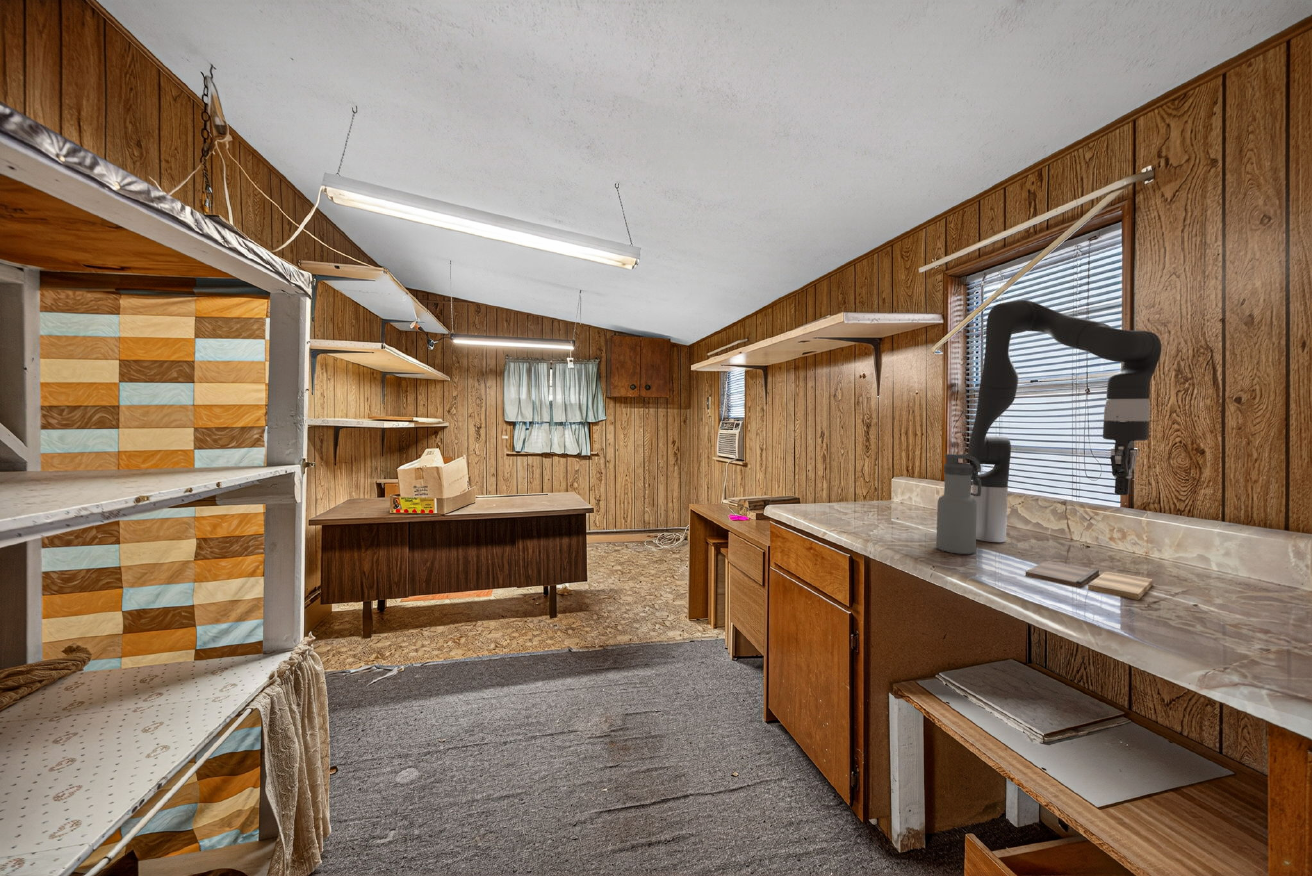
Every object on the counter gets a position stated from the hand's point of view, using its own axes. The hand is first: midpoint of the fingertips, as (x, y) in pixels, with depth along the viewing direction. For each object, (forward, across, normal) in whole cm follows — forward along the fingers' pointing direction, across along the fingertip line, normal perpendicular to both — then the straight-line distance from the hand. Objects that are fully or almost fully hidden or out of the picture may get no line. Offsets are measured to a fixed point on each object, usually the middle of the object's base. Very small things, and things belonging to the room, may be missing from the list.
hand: (1121, 494), depth 110 cm
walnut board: (+21, +7, -8) cm, 24 cm away
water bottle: (+22, -1, -34) cm, 41 cm away
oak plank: (+21, +7, +2) cm, 22 cm away
